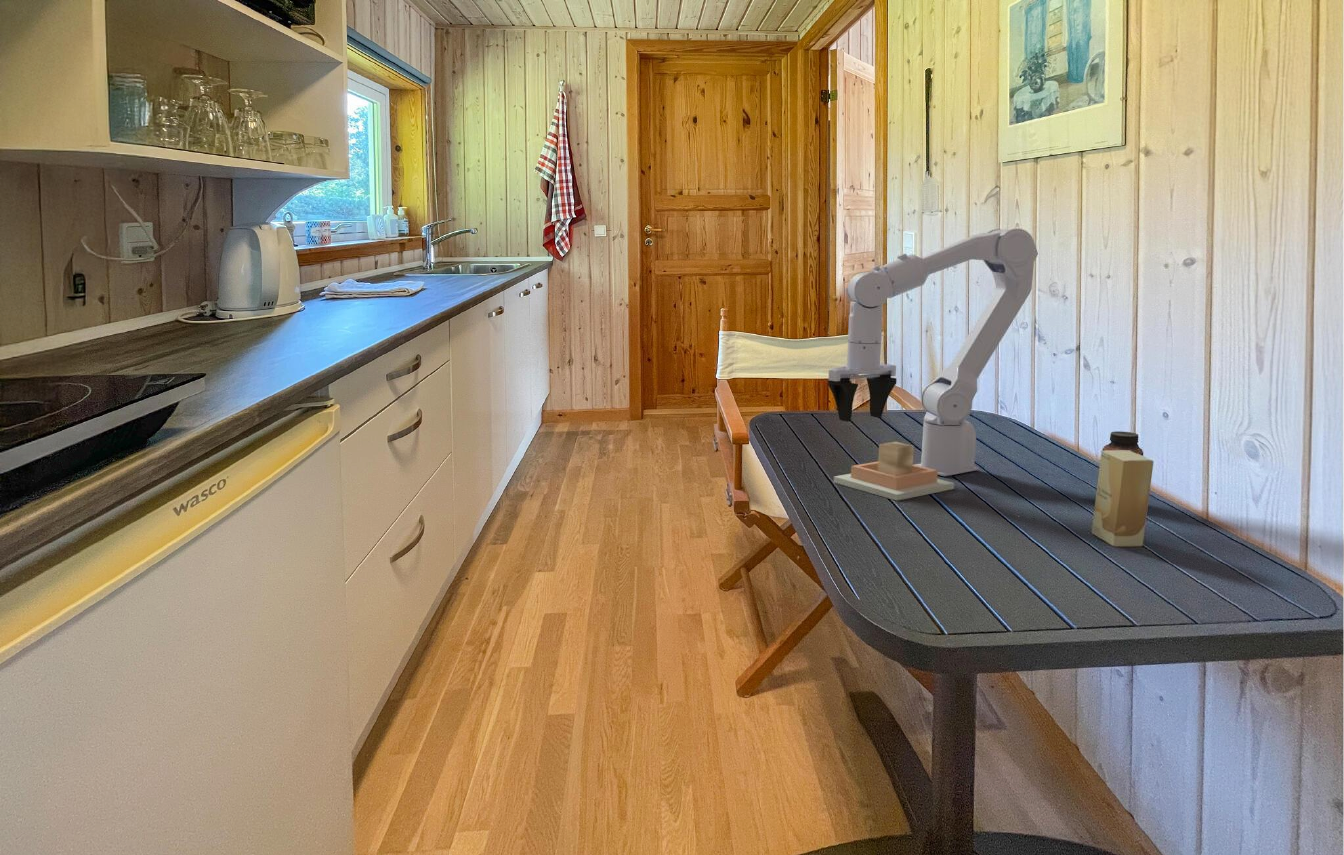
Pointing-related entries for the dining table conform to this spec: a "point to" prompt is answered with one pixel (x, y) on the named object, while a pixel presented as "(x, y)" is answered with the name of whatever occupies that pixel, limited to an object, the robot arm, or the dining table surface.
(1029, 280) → the robot arm
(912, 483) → the collar board
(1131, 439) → the supplement bottle
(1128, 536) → the skincare box
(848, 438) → the dining table surface
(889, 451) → the maple peg
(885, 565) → the dining table surface
